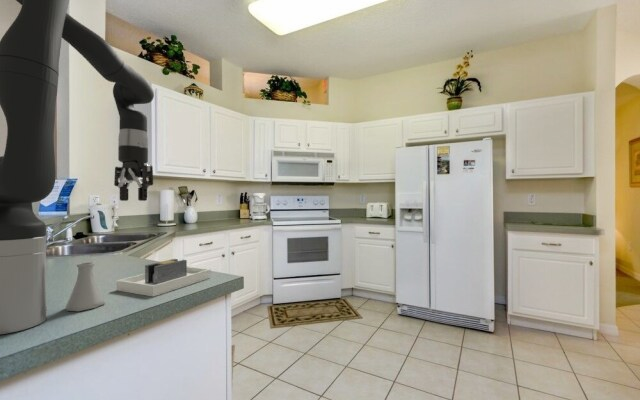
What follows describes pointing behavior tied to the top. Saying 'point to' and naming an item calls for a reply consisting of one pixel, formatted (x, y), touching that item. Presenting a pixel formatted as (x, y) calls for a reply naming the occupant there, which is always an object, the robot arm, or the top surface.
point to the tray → (150, 289)
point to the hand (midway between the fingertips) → (133, 200)
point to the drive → (165, 271)
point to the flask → (85, 290)
